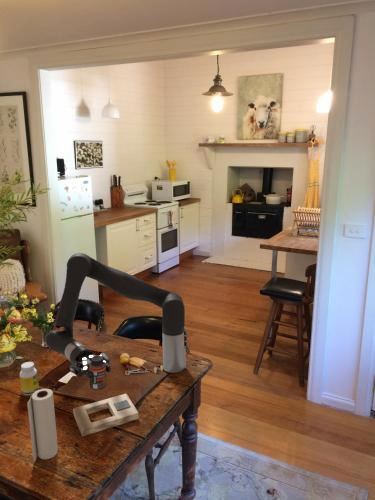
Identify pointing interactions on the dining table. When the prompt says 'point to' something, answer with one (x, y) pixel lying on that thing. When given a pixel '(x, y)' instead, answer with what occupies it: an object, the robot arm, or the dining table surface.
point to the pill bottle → (28, 378)
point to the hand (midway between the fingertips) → (101, 373)
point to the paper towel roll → (42, 424)
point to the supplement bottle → (98, 373)
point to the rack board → (120, 413)
